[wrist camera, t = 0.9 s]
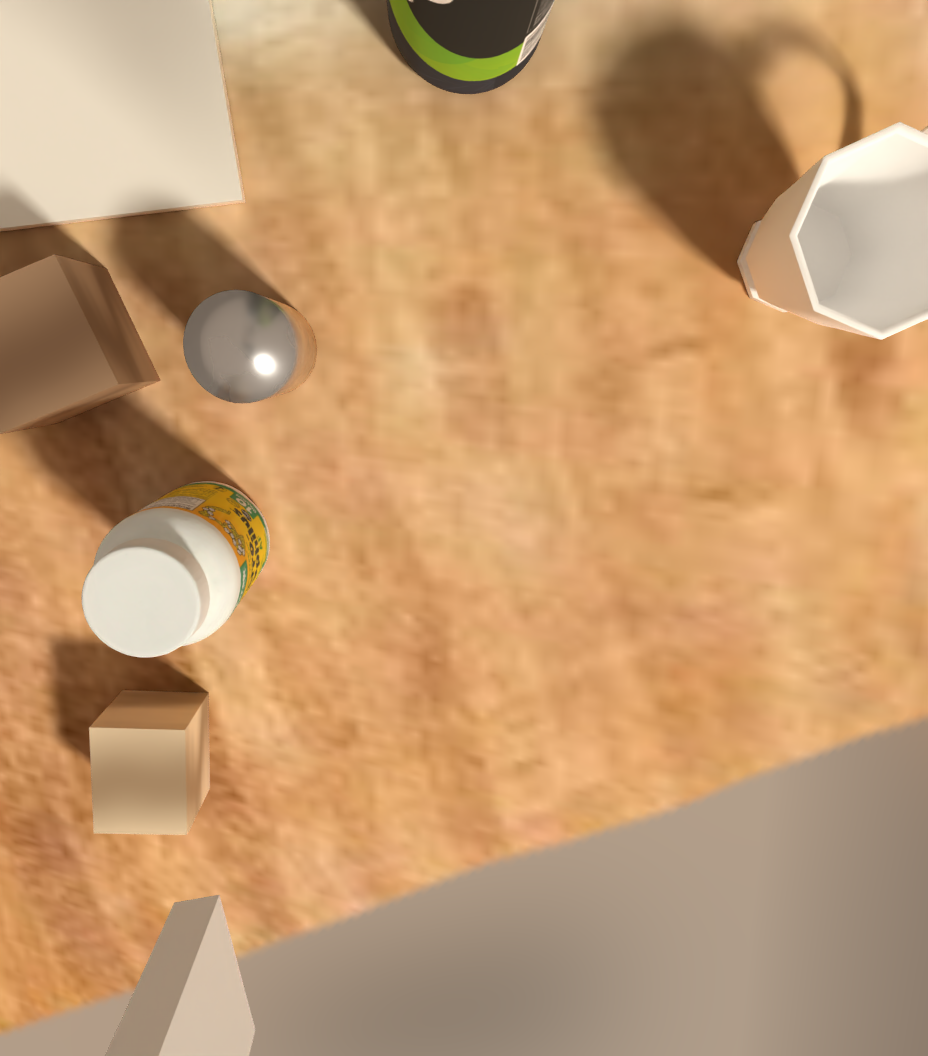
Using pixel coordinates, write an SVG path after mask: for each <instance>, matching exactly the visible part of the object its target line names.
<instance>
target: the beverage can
mask: <svg viewBox="0 0 928 1056" xmlns="http://www.w3.org/2000/svg"><path fill="white" fill-rule="evenodd" d="M553 3H554V0H387V7H388V16H389V23H390V27H391V31H392V34H393V37H394V40H395V42H396V45H397V47H398V49H399V51H400V52H401V54H402V56H403V57H404V59H405V60H406V62H407V63H408V64H409V65H410V67H411V68H412V69H413V70H414V71H415V72H416V73H417V74H418V75H419V76H421V77H422V78H423V79H424V80H426V81H427V82H429V83H430V84H432V85H434V86H436V87H438V88H440V89H443V90H446V91H449V92H453V93H459V94H476V93H482V92H486V91H490V90H493V89H495V88H498V87H500V86H502V85H503V84H505V83H507V82H508V81H509V80H511V79H512V78H513V77H515V76H516V75H517V74H518V73H519V72H520V71H521V70H522V69H523V68H524V67H525V65H526V64H527V63H528V61H529V60H530V58H531V57H532V55H533V53H534V52H535V50H536V48H537V45H538V43H539V41H540V38H541V35H542V33H543V30H544V27H545V24H546V22H547V19H548V16H549V14H550V11H551V8H552V5H553Z"/></svg>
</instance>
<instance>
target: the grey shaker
mask: <svg viewBox="0 0 928 1056" xmlns="http://www.w3.org/2000/svg"><path fill="white" fill-rule="evenodd" d="M183 348H184V355H185V359H186V362H187V365H188V367H189V369H190V371H191V373H192V375H193V376H194V378H195V379H196V380H197V382H198V383H199V384H200V385H201V386H202V387H203V388H204V389H205V390H207V391H208V392H209V393H211V394H212V395H214V396H216V397H218V398H220V399H223V400H226V401H229V402H234V403H251V402H256V401H260V400H264V399H267V398H271V397H274V396H278V395H281V394H285V393H288V392H290V391H292V390H294V389H296V388H298V387H299V386H300V385H301V384H303V383H304V382H305V381H306V379H307V378H308V377H309V375H310V374H311V372H312V370H313V368H314V365H315V362H316V356H317V345H316V339H315V336H314V333H313V330H312V328H311V326H310V325H309V323H308V322H307V320H306V319H305V318H304V317H303V316H302V315H301V314H300V313H299V312H298V311H297V310H295V309H294V308H292V307H290V306H288V305H286V304H283V303H281V302H278V301H275V300H272V299H270V298H267V297H264V296H261V295H259V294H256V293H253V292H249V291H245V290H228V291H223V292H219V293H217V294H214V295H212V296H210V297H208V298H207V299H205V300H204V301H203V302H202V303H200V304H199V305H198V306H197V308H196V309H195V310H194V311H193V313H192V314H191V316H190V318H189V320H188V322H187V324H186V328H185V331H184V338H183Z"/></svg>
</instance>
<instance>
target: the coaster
mask: <svg viewBox="0 0 928 1056" xmlns="http://www.w3.org/2000/svg"><path fill="white" fill-rule="evenodd" d="M237 203H246V202H245V196H244V190H243V184H242V178H241V172H240V166H239V160H238V154H237V148H236V142H235V137H234V131H233V125H232V119H231V113H230V107H229V101H228V95H227V89H226V83H225V77H224V71H223V65H222V60H221V54H220V48H219V42H218V36H217V30H216V24H215V18H214V12H213V6H212V0H0V231H9V230H17V229H26V228H34V227H43V226H51V225H59V224H68V223H76V222H85V221H93V220H102V219H110V218H119V217H127V216H136V215H144V214H153V213H161V212H169V211H178V210H186V209H195V208H203V207H212V206H220V205H229V204H237Z"/></svg>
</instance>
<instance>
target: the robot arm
mask: <svg viewBox="0 0 928 1056" xmlns="http://www.w3.org/2000/svg"><path fill="white" fill-rule="evenodd" d="M254 1033H255V1027H254V1024H253V1020H252V1016H251V1012H250V1009H249V1005H248V1001H247V997H246V993H245V990H244V986H243V982H242V978H241V974H240V971H239V967H238V963H237V959H236V955H235V952H234V948H233V944H232V940H231V937H230V933H229V929H228V925H227V922H226V918H225V914H224V910H223V906H222V903H221V899H220V895H215V896H210V897H204V898H198V899H193V900H187V901H181V902H176V903H174V905H173V907H172V909H171V911H170V914H169V916H168V918H167V920H166V922H165V925H164V927H163V929H162V931H161V933H160V936H159V938H158V940H157V942H156V944H155V947H154V949H153V951H152V953H151V955H150V958H149V960H148V962H147V964H146V966H145V969H144V971H143V973H142V975H141V977H140V980H139V982H138V984H137V986H136V988H135V991H134V993H133V995H132V997H131V999H130V1002H129V1004H128V1006H127V1008H126V1010H125V1013H124V1015H123V1017H122V1020H121V1022H120V1024H119V1026H118V1028H117V1030H116V1033H115V1035H114V1037H113V1039H112V1041H111V1044H110V1046H109V1048H108V1050H107V1052H106V1055H105V1056H249V1053H250V1049H251V1045H252V1041H253V1037H254Z"/></svg>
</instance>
